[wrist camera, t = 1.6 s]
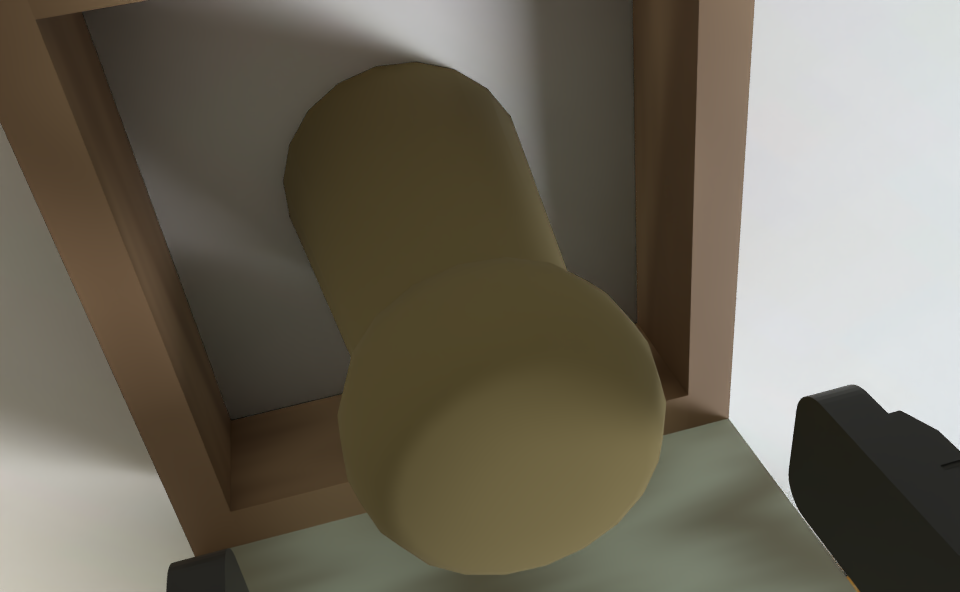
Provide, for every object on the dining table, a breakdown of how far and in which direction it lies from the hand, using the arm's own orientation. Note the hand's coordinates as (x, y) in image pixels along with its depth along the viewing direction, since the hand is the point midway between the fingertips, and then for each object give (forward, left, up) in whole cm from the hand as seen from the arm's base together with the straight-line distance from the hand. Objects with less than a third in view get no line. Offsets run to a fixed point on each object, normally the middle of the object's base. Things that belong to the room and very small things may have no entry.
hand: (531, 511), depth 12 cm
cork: (0, 0, -12) cm, 12 cm away
